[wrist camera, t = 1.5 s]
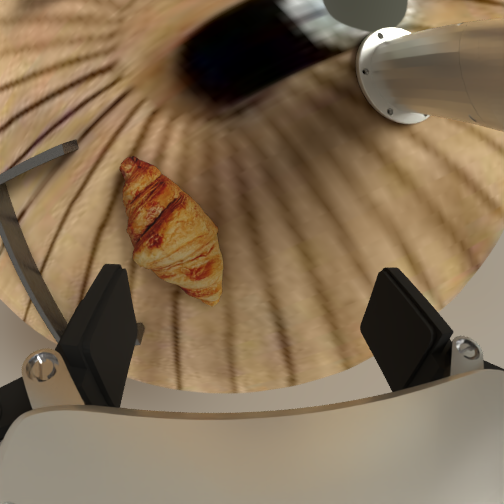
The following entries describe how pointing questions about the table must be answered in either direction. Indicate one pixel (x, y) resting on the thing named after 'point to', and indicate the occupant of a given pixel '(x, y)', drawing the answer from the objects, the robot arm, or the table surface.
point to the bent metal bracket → (5, 224)
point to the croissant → (171, 232)
